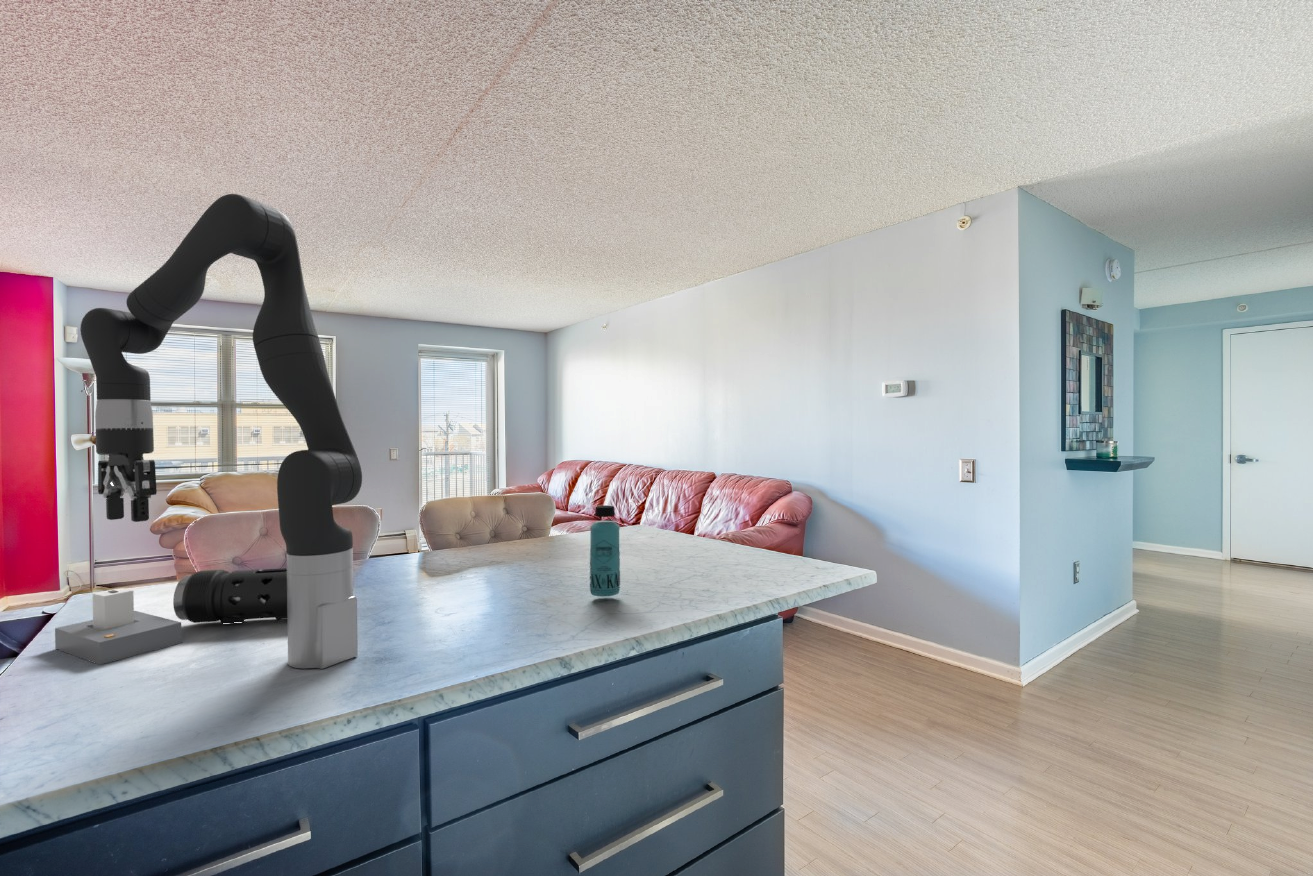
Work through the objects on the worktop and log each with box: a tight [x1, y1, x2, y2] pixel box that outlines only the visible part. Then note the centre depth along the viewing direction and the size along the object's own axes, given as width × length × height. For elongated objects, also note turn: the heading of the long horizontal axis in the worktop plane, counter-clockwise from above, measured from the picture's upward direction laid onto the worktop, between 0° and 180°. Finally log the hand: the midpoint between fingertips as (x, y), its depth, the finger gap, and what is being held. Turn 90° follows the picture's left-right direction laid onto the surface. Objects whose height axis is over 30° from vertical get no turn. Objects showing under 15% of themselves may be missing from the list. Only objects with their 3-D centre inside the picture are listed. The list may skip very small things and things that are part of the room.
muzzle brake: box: [172, 567, 287, 625], centre depth 116 cm, size 10×28×10 cm, turn 102°
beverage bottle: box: [588, 505, 621, 598], centre depth 128 cm, size 6×7×20 cm
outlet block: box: [54, 610, 183, 666], centre depth 103 cm, size 16×11×4 cm
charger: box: [92, 587, 135, 631], centre depth 104 cm, size 4×4×9 cm
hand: (127, 520), depth 105 cm, fingers open, 8 cm apart
